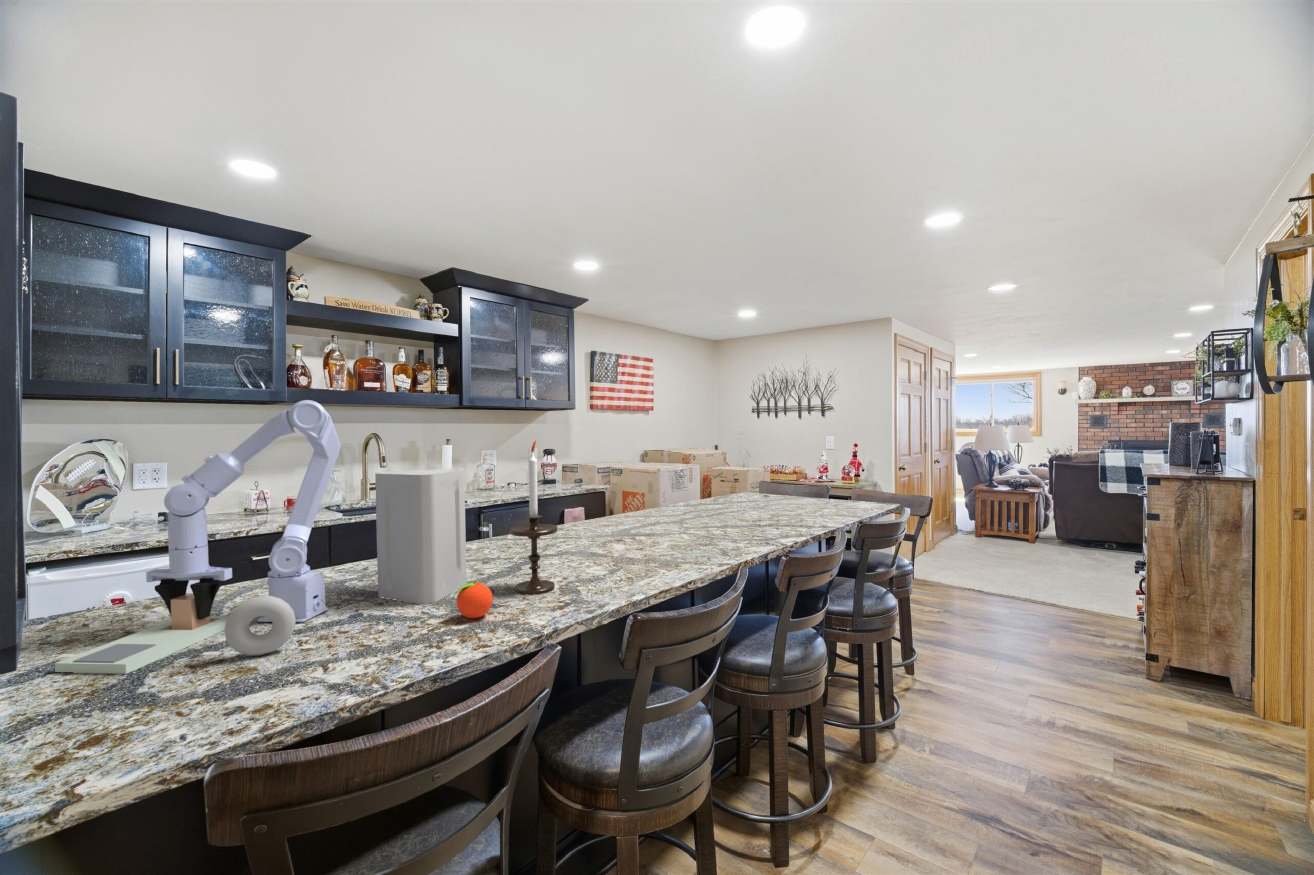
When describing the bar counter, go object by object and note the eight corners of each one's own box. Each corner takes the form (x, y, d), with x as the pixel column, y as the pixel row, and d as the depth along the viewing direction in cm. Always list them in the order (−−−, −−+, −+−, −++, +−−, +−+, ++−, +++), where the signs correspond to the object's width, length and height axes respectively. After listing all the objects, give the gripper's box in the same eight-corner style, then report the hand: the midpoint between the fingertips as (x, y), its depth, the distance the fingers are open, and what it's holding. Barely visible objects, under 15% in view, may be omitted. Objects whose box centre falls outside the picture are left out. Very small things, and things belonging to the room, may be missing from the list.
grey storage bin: (379, 610, 118) (376, 476, 118) (378, 592, 131) (375, 472, 131) (474, 597, 127) (471, 472, 126) (464, 581, 140) (461, 468, 139)
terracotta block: (210, 624, 109) (209, 593, 109) (192, 631, 105) (191, 599, 105) (190, 624, 109) (189, 593, 109) (171, 631, 105) (170, 599, 105)
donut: (222, 664, 92) (221, 603, 92) (227, 657, 95) (225, 597, 95) (295, 652, 97) (293, 594, 97) (297, 645, 100) (295, 589, 100)
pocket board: (238, 624, 111) (238, 615, 111) (126, 673, 89) (125, 663, 89) (180, 623, 112) (180, 615, 112) (55, 672, 90) (54, 661, 90)
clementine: (459, 627, 108) (459, 590, 108) (445, 618, 113) (445, 582, 113) (499, 617, 113) (498, 582, 113) (484, 609, 118) (483, 575, 118)
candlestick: (557, 581, 139) (555, 438, 138) (559, 593, 128) (556, 439, 128) (511, 584, 137) (509, 439, 136) (510, 597, 126) (507, 440, 125)
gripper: (242, 541, 111) (244, 610, 111) (167, 543, 111) (170, 611, 111) (215, 549, 104) (217, 622, 104) (135, 551, 104) (137, 624, 104)
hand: (191, 618), depth 107 cm, fingers closed on terracotta block, 4 cm apart
